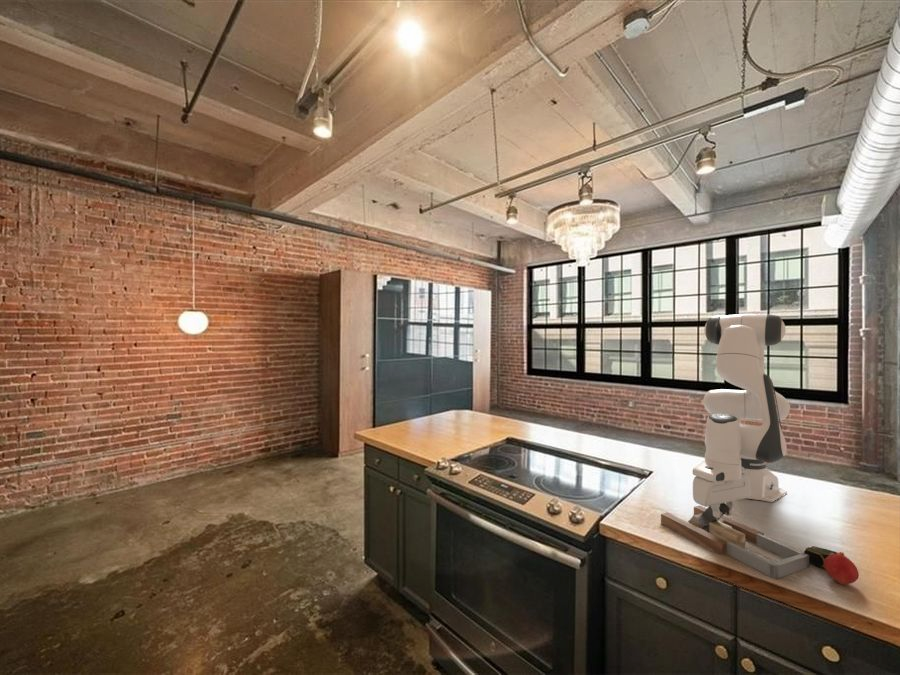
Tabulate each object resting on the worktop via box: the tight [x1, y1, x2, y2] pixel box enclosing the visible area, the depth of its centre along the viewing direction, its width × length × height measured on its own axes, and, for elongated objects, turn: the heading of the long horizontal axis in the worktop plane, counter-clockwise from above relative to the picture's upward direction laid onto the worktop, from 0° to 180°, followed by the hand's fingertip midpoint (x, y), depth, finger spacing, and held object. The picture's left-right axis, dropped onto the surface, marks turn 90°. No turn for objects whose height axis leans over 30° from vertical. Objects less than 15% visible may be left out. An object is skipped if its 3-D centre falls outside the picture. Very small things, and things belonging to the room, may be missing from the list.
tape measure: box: [803, 545, 838, 569], centre depth 97 cm, size 7×7×4 cm
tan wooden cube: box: [708, 521, 732, 538], centre depth 110 cm, size 4×4×4 cm
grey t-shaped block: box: [687, 503, 730, 531], centre depth 113 cm, size 9×4×10 cm
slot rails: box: [660, 505, 765, 556], centre depth 113 cm, size 18×19×3 cm
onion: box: [823, 551, 860, 586], centre depth 90 cm, size 6×6×8 cm
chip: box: [721, 528, 746, 548], centre depth 106 cm, size 4×4×4 cm
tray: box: [726, 534, 810, 580], centre depth 99 cm, size 14×12×3 cm
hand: (722, 515), depth 110 cm, fingers closed on grey t-shaped block, 3 cm apart
